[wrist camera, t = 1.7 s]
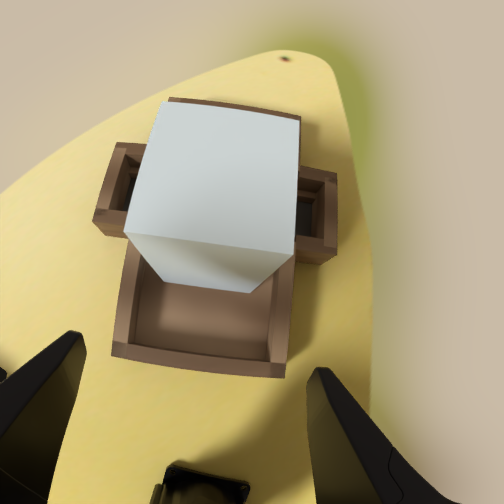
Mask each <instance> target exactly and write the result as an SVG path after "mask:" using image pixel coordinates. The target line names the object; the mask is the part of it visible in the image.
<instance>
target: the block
mask: <svg viewBox="0 0 504 504" xmlns="http://www.w3.org/2000/svg"><path fill="white" fill-rule="evenodd" d="M298 153H299V121H298V120H294V119H289V118H284V117H279V116H274V115H268V114H263V113H257V112H251V111H245V110H238V109H231V108H224V107H216V106H208V105H199V104H189V103H178V102H165V101H162V102H161V105H160V108H159V111H158V113H157V116H156V119H155V122H154V125H153V128H152V131H151V134H150V137H149V140H148V143H147V146H146V149H145V152H144V156H143V159H142V162H141V166H140V169H139V172H138V176H137V179H136V183H135V187H134V190H133V194H132V198H131V202H130V206H129V210H128V214H127V218H126V222H125V227H124V231H123V232H124V233H125V234H126V235H127V237H128V238H129V239H130V241H131V242H132V243H133V244H134V246H135V247H136V248H137V249H138V251H139V252H140V253H141V254H142V256H143V257H144V258H145V259H146V261H147V262H148V263H149V264H150V266H151V267H152V268H153V269H154V270H155V272H156V273H157V274H158V275H159V276H160V278H161V279H162V280H163V281H164V282H169V283H176V284H183V285H190V286H198V287H205V288H212V289H220V290H228V291H236V292H244V293H251V292H252V291H253V290H254V289H255V288H256V287H258V286H259V285H260V284H261V283H262V282H263V281H264V280H265V279H267V278H268V277H269V276H270V275H271V274H272V273H273V272H275V271H276V270H277V269H278V268H279V267H280V266H281V265H282V264H284V263H285V262H286V261H287V260H288V259H289V258H290V257H291V256H292V255H293V253H294V237H295V220H296V201H297V179H298Z"/></svg>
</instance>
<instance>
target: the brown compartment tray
mask: <svg viewBox="0 0 504 504" xmlns="http://www.w3.org/2000/svg"><path fill="white" fill-rule="evenodd" d="M168 102H178V103H189V104H199V105H208V106H216V107H224V108H231V109H238V110H245V111H251V112H257V113H263V114H268V115H274V116H279V117H284V118H289V119H294V120H298V121H299V153H298V179H297V201H296V220H295V237H294V253H293V255H292V256H291V257H290V258H289V259H288V260H287V261H286V262H285V263H284V264H282V265H281V266H280V267H279V268H278V269H277V270H276V271H275V272H273V273H272V274H271V275H270V276H269V277H268V278H267V279H265V280H264V281H263V282H262V283H261V284H260V285H259V286H258V287H256V288H255V289H254V290H253V291H252V292H251V293H244V292H236V291H228V290H220V289H212V288H205V287H198V286H190V285H183V284H176V283H169V282H164V281H163V280H162V279H161V278H160V276H159V275H158V274H157V273H156V272H155V270H154V269H153V268H152V267H151V266H150V264H149V263H148V262H147V261H146V259H145V258H144V257H143V256H142V254H141V253H140V252H139V251H138V249H137V248H136V247H135V246H134V244H133V243H132V242H131V241H130V239H129V238H128V237H127V235H126V234H125V233H124V232H123V231H124V227H125V222H126V218H127V214H128V210H129V206H130V202H131V198H132V194H133V190H134V187H135V183H136V179H137V176H138V172H139V169H140V166H141V162H142V159H143V156H144V152H145V149H146V146H147V144H138V143H123V142H117V143H116V146H115V148H114V151H113V154H112V157H111V160H110V163H109V166H108V169H107V172H106V175H105V178H104V181H103V184H102V188H101V191H100V194H99V198H98V201H97V205H96V209H95V212H94V216H93V220H92V222H93V223H94V224H95V225H96V226H97V227H98V228H99V229H100V230H101V231H102V232H103V233H104V235H105V236H113V237H120V238H127V239H129V241H128V246H127V251H126V256H125V261H124V266H123V272H122V278H121V284H120V290H119V296H118V303H117V310H116V317H115V325H114V333H113V342H112V352H111V356H114V357H118V358H123V359H128V360H133V361H138V362H144V363H149V364H155V365H161V366H167V367H174V368H180V369H187V370H195V371H202V372H211V373H220V374H229V375H240V376H252V377H267V378H285V370H286V361H287V351H288V340H289V330H290V318H291V307H292V294H293V281H294V267H295V261H296V262H303V263H311V264H318V265H321V264H323V263H325V262H326V261H328V260H330V259H331V258H333V257H334V256H336V255H337V173H333V172H328V171H324V170H319V169H314V168H310V167H305V166H300V143H301V116H298V115H293V114H288V113H283V112H278V111H273V110H268V109H262V108H256V107H250V106H244V105H237V104H230V103H223V102H215V101H207V100H197V99H187V98H175V97H169V99H168Z"/></svg>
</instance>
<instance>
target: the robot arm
mask: <svg viewBox="0 0 504 504" xmlns="http://www.w3.org/2000/svg"><path fill="white" fill-rule="evenodd" d="M86 355H87V351H86V346H85V343H84V339H83V335H82V334H81V333H80V332H77V331H73V330H69V331H67V332H66V333H65V334H63V335H62V336H61V337H59V338H58V339H57V340H55V341H54V342H53V343H51V344H50V345H49V346H47V347H46V348H45V349H44V350H42V351H41V352H40V353H38V354H37V355H36V356H34V357H33V358H32V359H31V360H29V361H28V362H27V363H25V364H24V365H23V366H22V367H20V368H19V369H18V370H17V371H15V372H14V373H13V374H12V375H10V376H9V377H8V378H7V379H5V380H4V381H3V382H2V383H0V504H47V502H48V501H47V500H48V497H49V492H50V488H51V484H52V479H53V475H54V471H55V467H56V463H57V460H58V456H59V452H60V449H61V445H62V442H63V438H64V435H65V432H66V428H67V425H68V422H69V419H70V416H71V413H72V410H73V407H74V404H75V401H76V397H77V393H78V389H79V384H80V380H81V376H82V372H83V368H84V364H85V360H86ZM306 395H307V432H308V440H309V448H310V455H311V463H312V470H313V478H314V486H315V494H316V503H317V504H460V503H456V502H453V501H451V500H449V499H447V498H445V497H444V496H443V495H441V494H440V493H439V492H438V491H437V490H436V489H435V488H434V487H432V486H431V485H430V484H429V483H428V482H427V481H426V480H425V479H424V478H423V477H422V476H421V475H420V474H419V473H417V471H416V470H415V469H414V468H413V467H412V466H410V464H409V463H408V462H407V461H406V460H405V459H404V458H403V457H402V455H401V454H400V453H399V452H398V451H397V450H396V448H395V447H392V444H391V442H390V441H389V440H388V439H387V438H386V436H385V435H384V434H383V433H382V432H381V430H380V429H379V428H378V427H377V426H376V424H375V423H374V422H373V421H372V419H371V418H370V417H369V416H368V415H367V413H366V412H365V411H364V410H363V409H362V407H361V406H360V405H359V404H358V402H357V401H356V400H355V399H354V398H353V396H352V395H351V394H350V393H349V391H348V390H347V389H346V388H345V387H344V385H343V384H342V383H341V382H340V380H339V379H338V378H337V377H336V376H335V374H334V373H333V372H332V371H331V369H329V368H328V367H316V368H315V369H314V371H313V373H312V375H311V377H310V378H309V380H308V382H307V387H306ZM171 469H172V470H175V473H172V472H170V470H171ZM242 486H247V487H246V488H241V487H242ZM249 491H250V485H249V483H248V482H246V481H241V480H235V479H230V478H225V477H220V476H215V475H211V474H206V473H202V472H198V471H194V470H190V469H186V468H183V467H179V466H176V465H169V466H167V468H166V472H165V475H164V479H163V483H162V484H156V485H155V488H154V491H153V494H152V497H151V500H150V504H245V502H246V499H247V497H248V494H249Z"/></svg>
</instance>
